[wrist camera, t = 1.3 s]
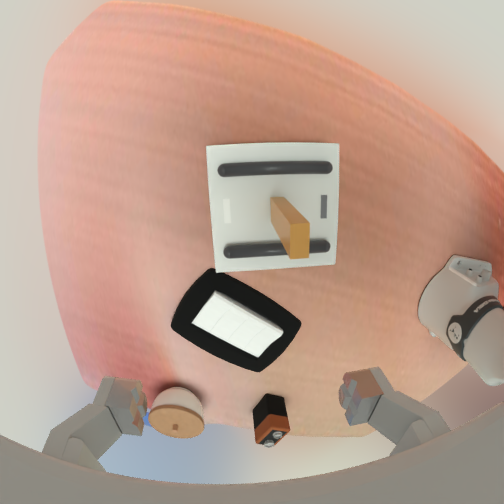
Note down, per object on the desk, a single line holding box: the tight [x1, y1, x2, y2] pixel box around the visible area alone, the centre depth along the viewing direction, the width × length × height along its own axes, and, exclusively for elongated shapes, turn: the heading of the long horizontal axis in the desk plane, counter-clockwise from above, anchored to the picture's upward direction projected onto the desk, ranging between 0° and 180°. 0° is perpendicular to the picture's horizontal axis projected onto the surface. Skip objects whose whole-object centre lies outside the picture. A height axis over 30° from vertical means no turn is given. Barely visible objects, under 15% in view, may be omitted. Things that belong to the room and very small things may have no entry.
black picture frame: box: [171, 268, 301, 372], centre depth 45 cm, size 20×3×14 cm
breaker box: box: [206, 142, 339, 273], centre depth 36 cm, size 16×16×7 cm
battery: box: [253, 394, 290, 448], centre depth 50 cm, size 4×7×10 cm, turn 154°
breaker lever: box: [270, 197, 310, 259], centre depth 28 cm, size 2×3×12 cm, turn 2°
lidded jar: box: [148, 387, 204, 438], centre depth 47 cm, size 11×11×9 cm
